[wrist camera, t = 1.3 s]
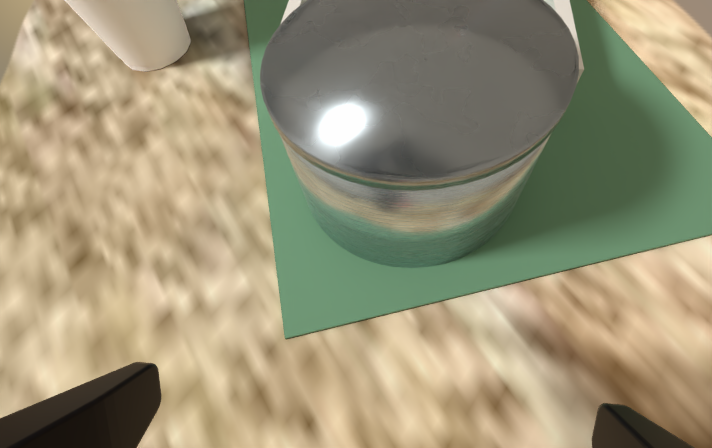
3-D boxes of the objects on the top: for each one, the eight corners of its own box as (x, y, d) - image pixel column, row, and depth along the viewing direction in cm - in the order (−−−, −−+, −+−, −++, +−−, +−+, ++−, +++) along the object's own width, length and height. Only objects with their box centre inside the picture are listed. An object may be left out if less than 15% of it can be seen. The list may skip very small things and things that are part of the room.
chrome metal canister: (561, 236, 22) (651, 127, 14) (321, 295, 22) (277, 217, 14) (472, 75, 29) (499, -58, 21) (290, 118, 29) (248, -1, 21)
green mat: (780, 217, 21) (783, 216, 21) (285, 339, 21) (285, 338, 21) (518, -72, 39) (518, -75, 38) (243, -9, 38) (242, -11, 38)
